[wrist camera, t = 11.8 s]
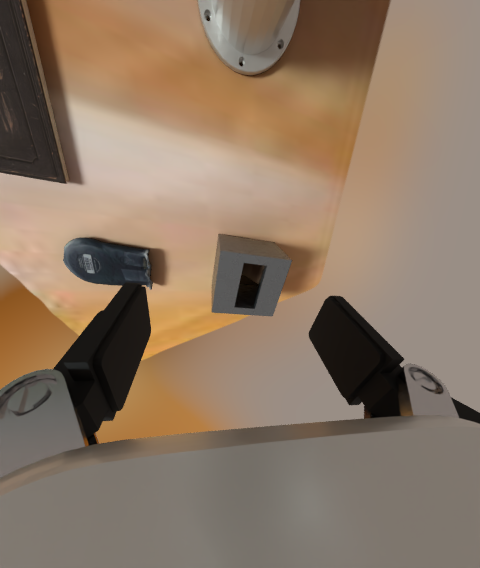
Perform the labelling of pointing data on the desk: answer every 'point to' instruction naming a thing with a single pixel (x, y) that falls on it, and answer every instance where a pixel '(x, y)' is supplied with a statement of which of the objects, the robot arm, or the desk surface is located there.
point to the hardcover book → (25, 102)
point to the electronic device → (107, 262)
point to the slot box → (229, 269)
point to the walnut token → (253, 271)
